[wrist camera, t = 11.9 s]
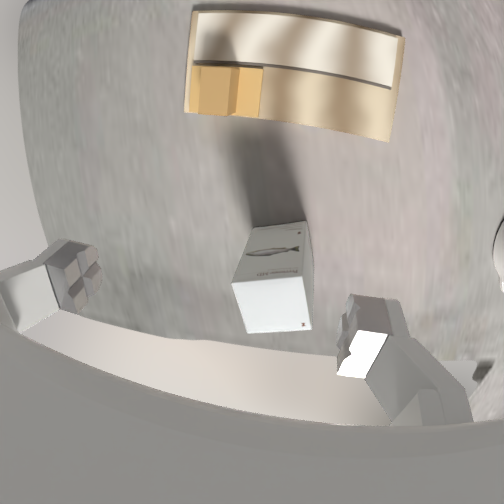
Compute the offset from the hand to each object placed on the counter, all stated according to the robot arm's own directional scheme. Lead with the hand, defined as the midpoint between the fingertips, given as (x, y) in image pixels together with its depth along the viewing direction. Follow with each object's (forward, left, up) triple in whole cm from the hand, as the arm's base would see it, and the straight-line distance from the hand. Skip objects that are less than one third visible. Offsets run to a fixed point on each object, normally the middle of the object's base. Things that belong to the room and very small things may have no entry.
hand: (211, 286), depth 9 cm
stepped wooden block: (+7, -5, -28) cm, 29 cm away
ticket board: (0, -8, -29) cm, 30 cm away
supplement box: (-2, +15, -29) cm, 33 cm away
